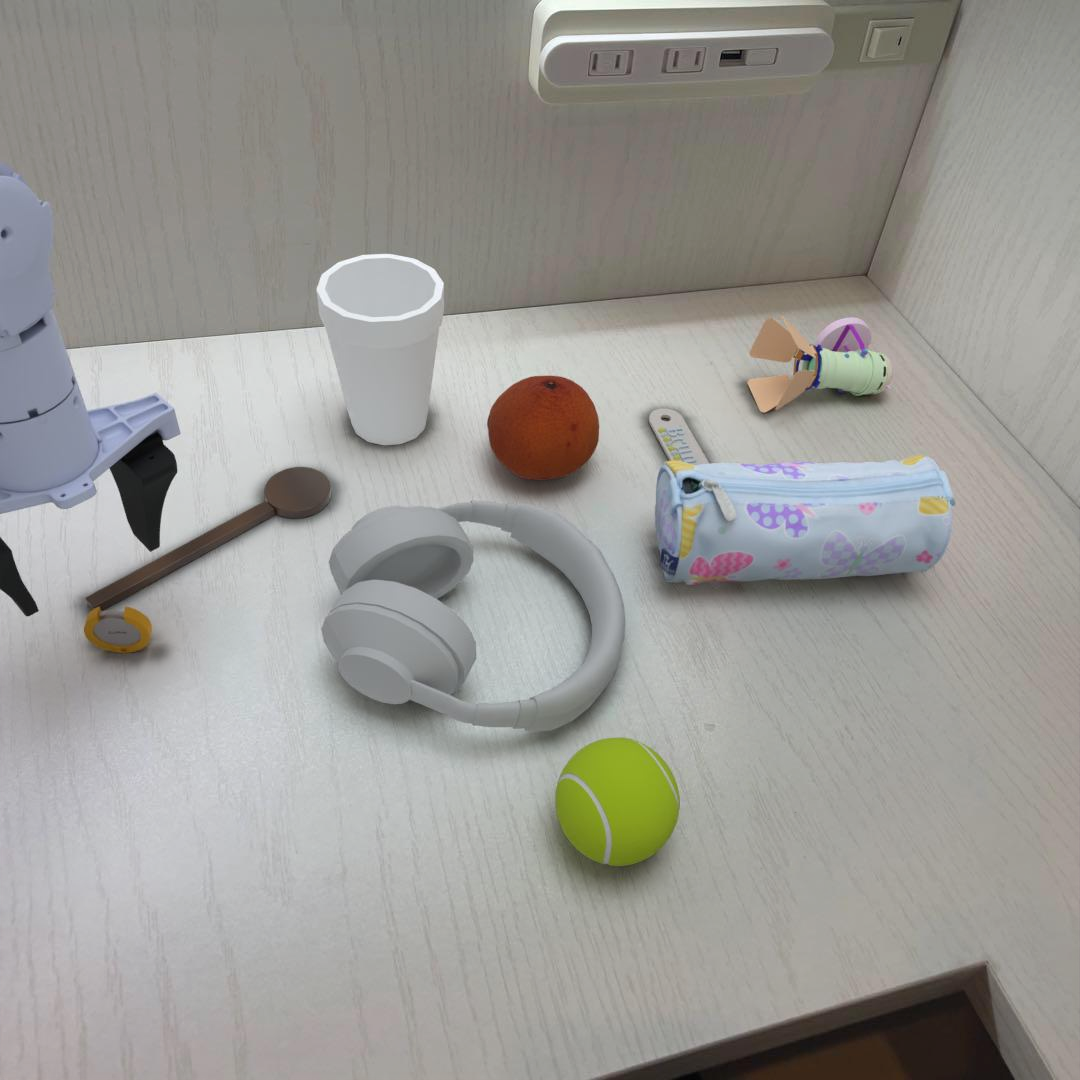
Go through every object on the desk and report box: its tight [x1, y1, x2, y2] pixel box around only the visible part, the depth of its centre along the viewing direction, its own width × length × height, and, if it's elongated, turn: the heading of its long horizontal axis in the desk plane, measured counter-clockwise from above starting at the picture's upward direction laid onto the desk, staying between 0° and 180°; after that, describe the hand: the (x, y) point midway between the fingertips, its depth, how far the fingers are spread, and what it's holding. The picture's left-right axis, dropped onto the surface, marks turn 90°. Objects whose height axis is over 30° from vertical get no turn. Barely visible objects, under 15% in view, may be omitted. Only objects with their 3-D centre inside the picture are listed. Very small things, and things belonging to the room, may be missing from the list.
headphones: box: [320, 500, 626, 733], centre depth 65 cm, size 18×8×20 cm
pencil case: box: [654, 454, 957, 586], centre depth 70 cm, size 21×9×10 cm, turn 94°
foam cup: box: [315, 253, 445, 446], centre depth 78 cm, size 10×9×13 cm
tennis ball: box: [554, 737, 681, 867], centre depth 55 cm, size 7×7×7 cm
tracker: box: [83, 605, 153, 654], centre depth 63 cm, size 4×1×4 cm, turn 94°
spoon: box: [85, 466, 332, 611], centre depth 71 cm, size 20×5×1 cm, turn 135°
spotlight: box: [747, 315, 894, 414], centre depth 87 cm, size 12×8×8 cm
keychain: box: [648, 407, 710, 465], centre depth 82 cm, size 10×1×3 cm
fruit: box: [486, 375, 600, 481], centre depth 77 cm, size 9×9×8 cm
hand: (88, 571), depth 58 cm, fingers open, 7 cm apart
